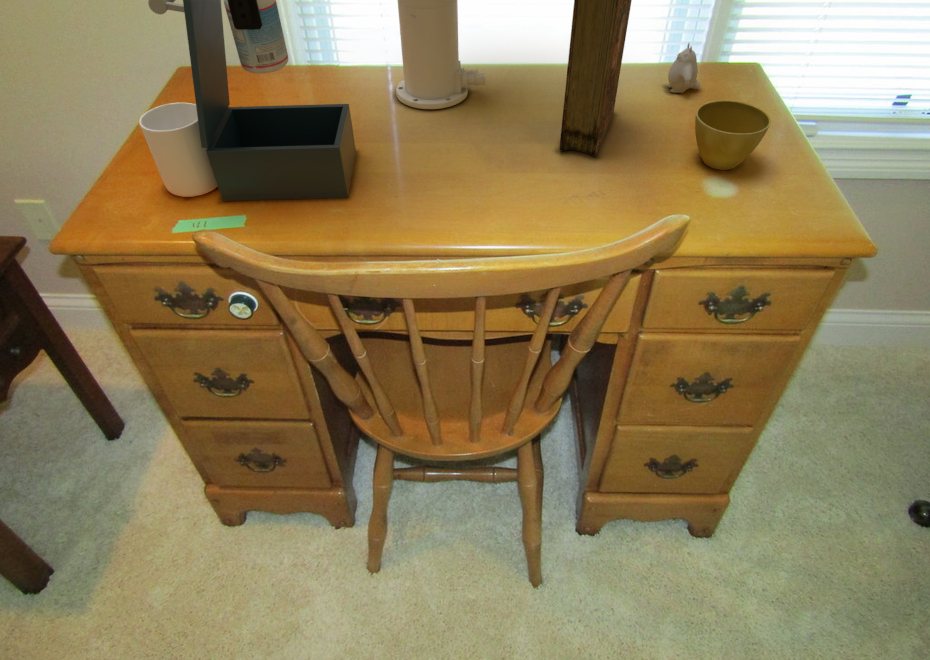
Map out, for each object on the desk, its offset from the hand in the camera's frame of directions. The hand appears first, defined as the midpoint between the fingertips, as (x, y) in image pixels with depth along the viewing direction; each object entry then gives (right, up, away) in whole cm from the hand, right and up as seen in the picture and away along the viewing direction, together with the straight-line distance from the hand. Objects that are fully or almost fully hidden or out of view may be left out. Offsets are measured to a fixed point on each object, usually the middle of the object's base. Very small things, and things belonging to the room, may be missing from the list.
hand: (254, 16), depth 77 cm
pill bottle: (0, -4, +4) cm, 6 cm away
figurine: (+64, +4, +34) cm, 73 cm away
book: (+45, -7, +24) cm, 52 cm away
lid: (-7, -4, +4) cm, 8 cm away
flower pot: (+64, -13, +17) cm, 67 cm away
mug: (-14, -16, +16) cm, 26 cm away
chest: (0, -16, +16) cm, 22 cm away
